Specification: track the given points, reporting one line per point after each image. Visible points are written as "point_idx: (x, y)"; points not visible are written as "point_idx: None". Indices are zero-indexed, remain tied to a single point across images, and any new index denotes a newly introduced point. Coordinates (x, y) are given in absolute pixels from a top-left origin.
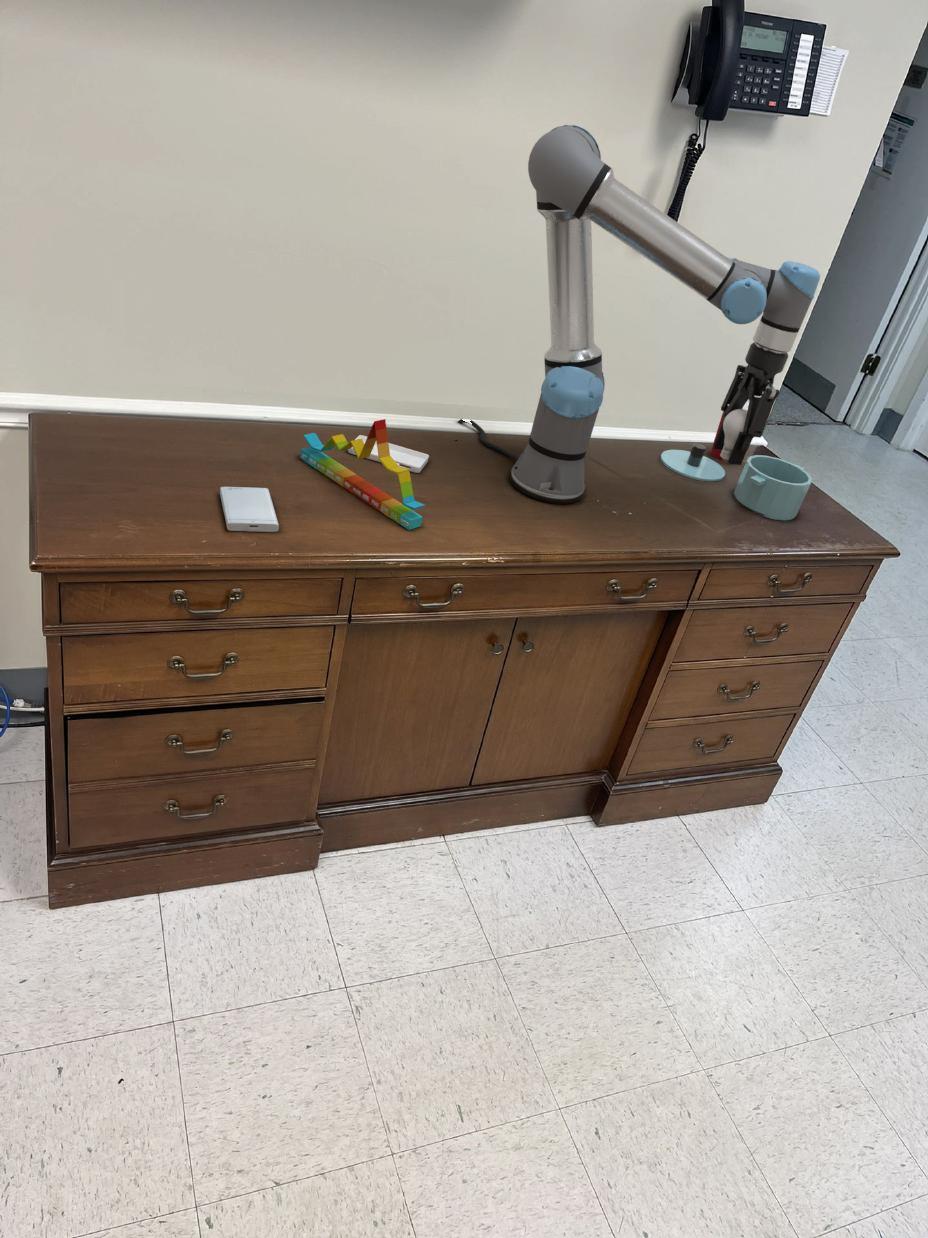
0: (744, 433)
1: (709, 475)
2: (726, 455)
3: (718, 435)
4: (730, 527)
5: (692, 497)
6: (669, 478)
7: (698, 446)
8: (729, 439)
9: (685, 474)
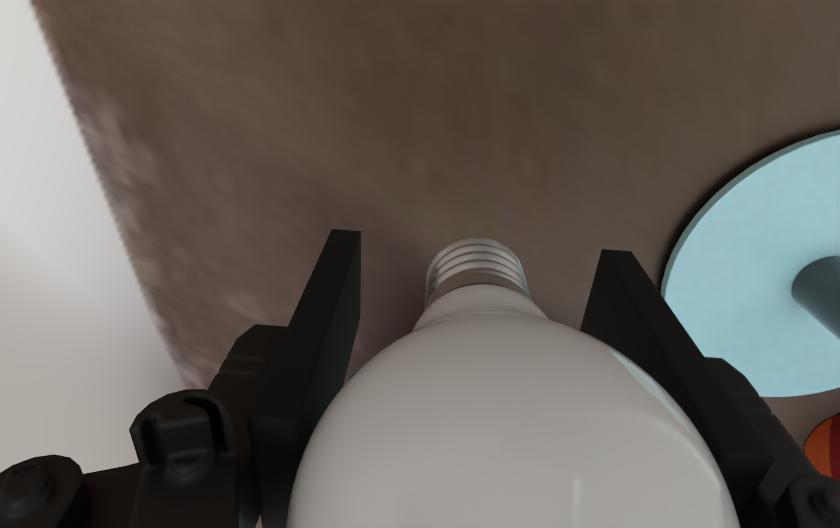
0: (139, 439)
1: (701, 302)
2: (442, 266)
3: (661, 312)
4: (265, 163)
5: (535, 118)
6: (741, 90)
7: None
8: (437, 319)
9: (734, 183)
